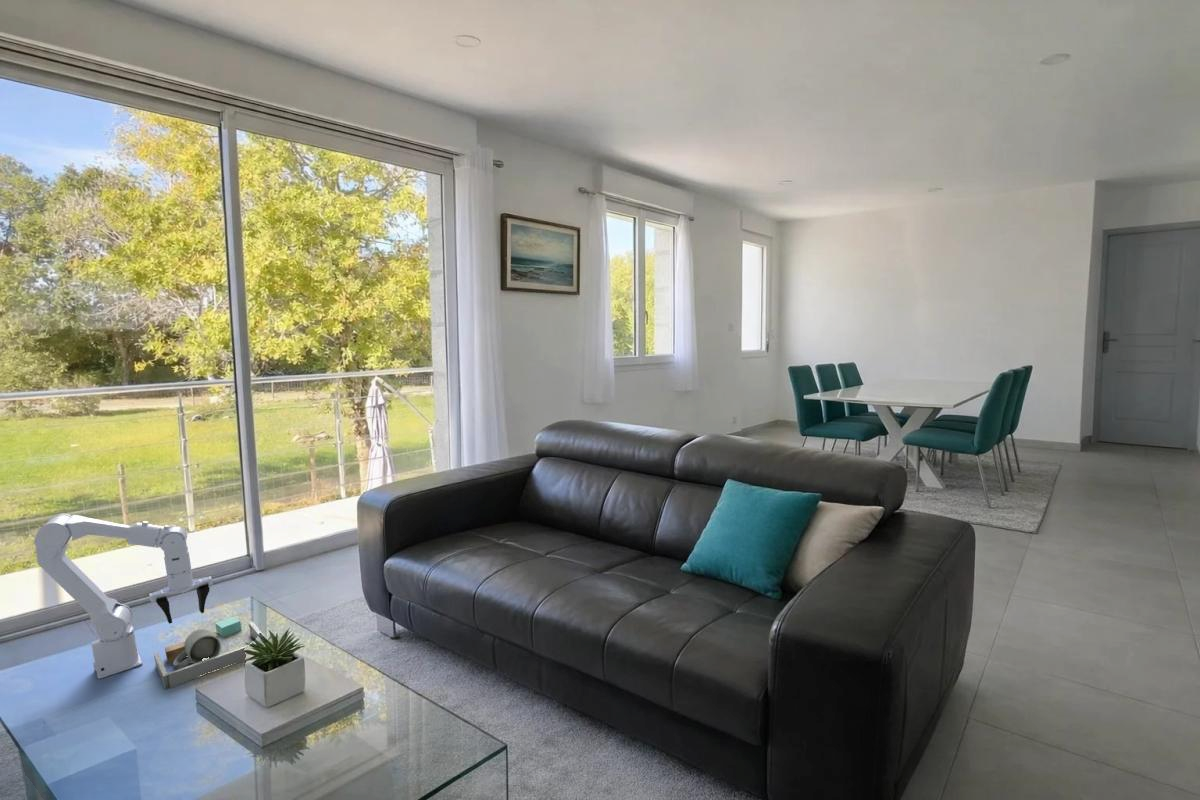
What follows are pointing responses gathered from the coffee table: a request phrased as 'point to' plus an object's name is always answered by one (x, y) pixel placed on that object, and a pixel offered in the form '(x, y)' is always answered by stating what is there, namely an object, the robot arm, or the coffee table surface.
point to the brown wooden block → (176, 650)
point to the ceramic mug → (198, 648)
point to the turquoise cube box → (228, 626)
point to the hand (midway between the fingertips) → (186, 616)
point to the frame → (202, 664)
